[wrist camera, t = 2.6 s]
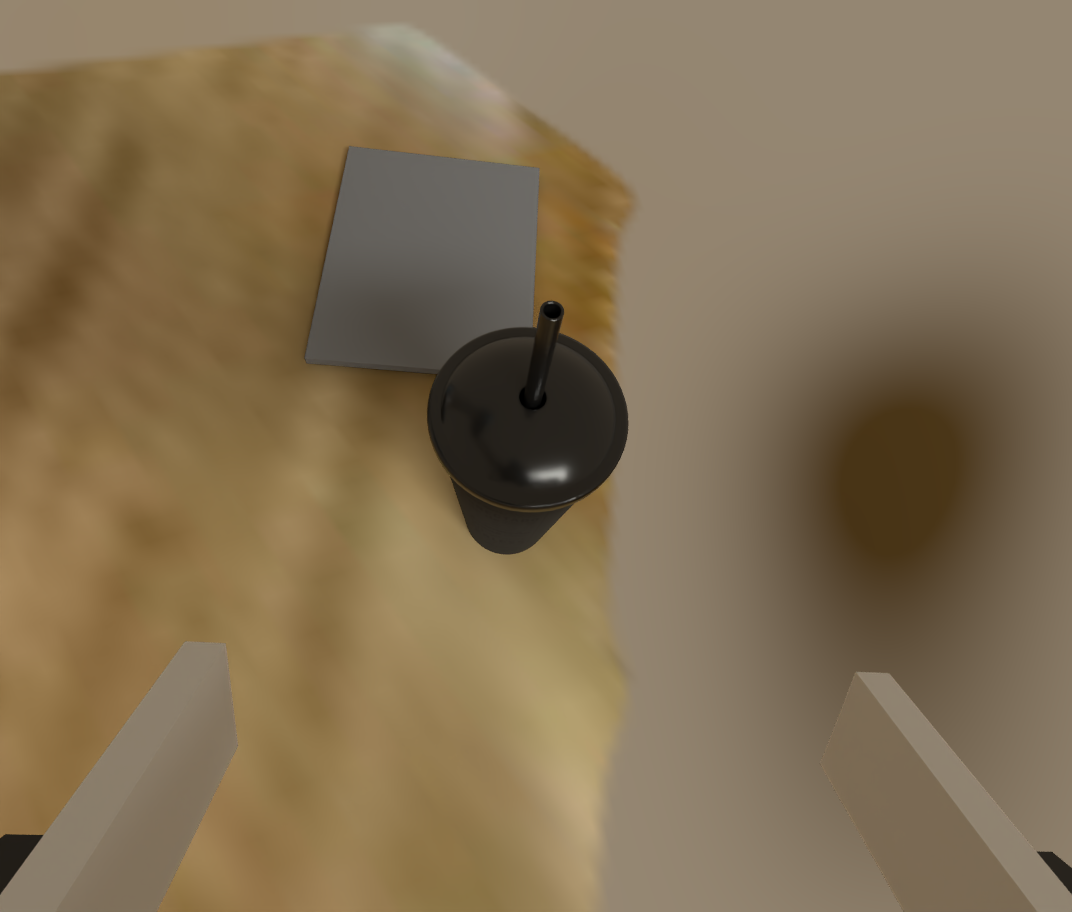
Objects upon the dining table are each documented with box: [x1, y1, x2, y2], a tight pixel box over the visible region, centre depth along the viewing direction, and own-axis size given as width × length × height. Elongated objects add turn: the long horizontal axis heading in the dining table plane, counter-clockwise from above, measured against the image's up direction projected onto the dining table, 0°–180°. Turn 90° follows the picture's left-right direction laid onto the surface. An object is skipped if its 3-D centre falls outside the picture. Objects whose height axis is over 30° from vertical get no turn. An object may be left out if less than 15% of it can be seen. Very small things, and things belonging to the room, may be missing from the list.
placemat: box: [305, 146, 539, 374], centre depth 41 cm, size 14×18×1 cm
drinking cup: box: [427, 301, 628, 554], centre depth 26 cm, size 8×8×20 cm
